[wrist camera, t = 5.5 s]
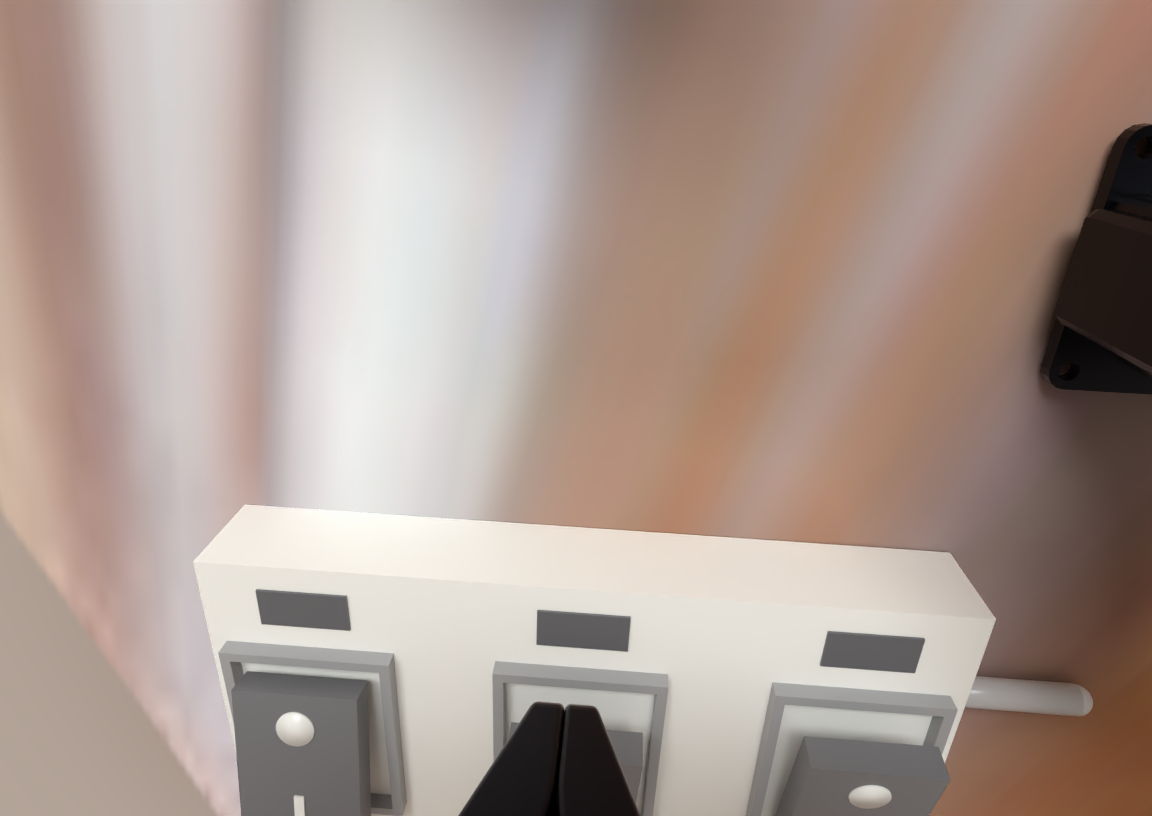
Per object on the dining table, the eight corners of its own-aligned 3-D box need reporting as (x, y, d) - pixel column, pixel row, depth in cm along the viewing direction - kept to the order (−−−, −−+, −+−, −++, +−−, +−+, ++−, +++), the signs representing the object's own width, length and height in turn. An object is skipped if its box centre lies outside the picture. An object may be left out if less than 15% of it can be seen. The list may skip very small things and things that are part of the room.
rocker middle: (642, 732, 19) (642, 769, 19) (629, 807, 23) (629, 840, 22) (511, 722, 20) (506, 758, 19) (517, 798, 23) (513, 831, 22)
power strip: (1135, 564, 22) (1223, 647, 18) (1035, 792, 26) (1092, 892, 23) (244, 504, 23) (183, 572, 20) (285, 731, 27) (239, 818, 24)
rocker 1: (367, 680, 21) (356, 701, 20) (371, 826, 22) (360, 852, 21) (247, 670, 21) (229, 691, 20) (258, 816, 22) (242, 841, 21)
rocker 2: (938, 746, 19) (951, 781, 19) (886, 839, 22) (895, 873, 22) (804, 735, 20) (811, 770, 19) (769, 829, 22) (774, 862, 22)
